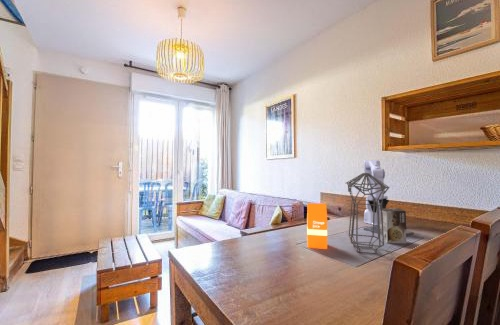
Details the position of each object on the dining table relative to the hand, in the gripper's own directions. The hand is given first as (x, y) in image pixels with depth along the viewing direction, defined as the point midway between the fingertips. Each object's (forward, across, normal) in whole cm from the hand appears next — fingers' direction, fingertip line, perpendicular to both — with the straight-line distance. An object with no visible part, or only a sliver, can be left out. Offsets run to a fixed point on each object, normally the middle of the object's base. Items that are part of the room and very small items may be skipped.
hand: (378, 211), depth 142 cm
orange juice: (+12, -53, -6) cm, 55 cm away
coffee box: (+11, -14, -18) cm, 26 cm away
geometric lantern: (+12, -38, -21) cm, 45 cm away
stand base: (+10, 0, -5) cm, 12 cm away
